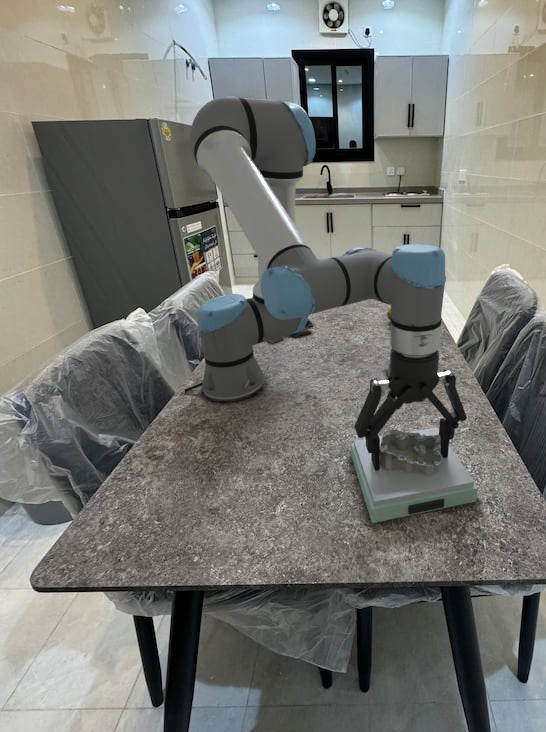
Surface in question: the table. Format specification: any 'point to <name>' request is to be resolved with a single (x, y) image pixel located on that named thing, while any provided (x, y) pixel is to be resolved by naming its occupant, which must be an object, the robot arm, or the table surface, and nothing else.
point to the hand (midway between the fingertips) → (409, 458)
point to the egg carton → (410, 452)
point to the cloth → (302, 332)
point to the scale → (411, 485)
